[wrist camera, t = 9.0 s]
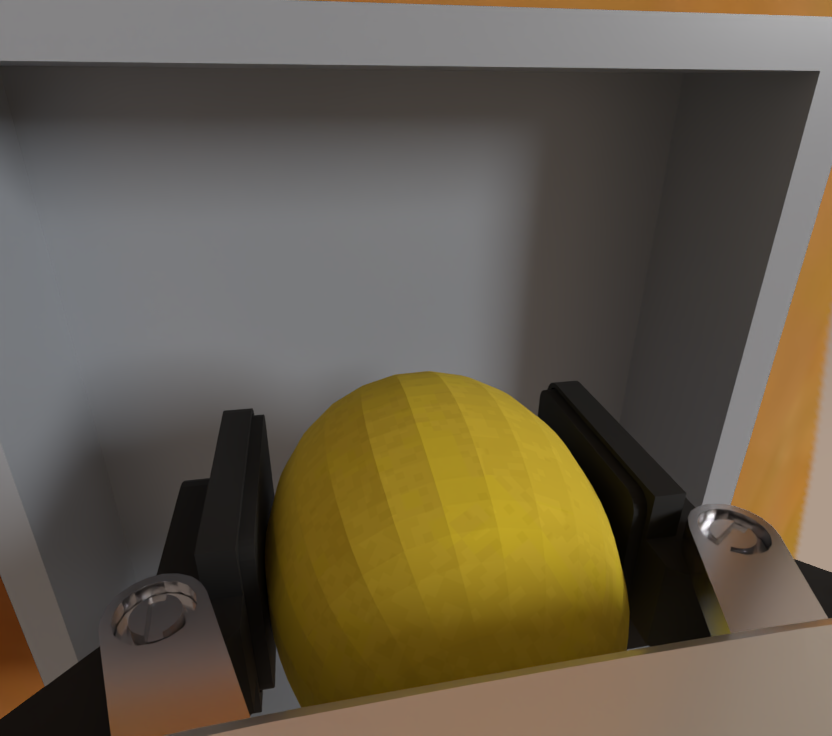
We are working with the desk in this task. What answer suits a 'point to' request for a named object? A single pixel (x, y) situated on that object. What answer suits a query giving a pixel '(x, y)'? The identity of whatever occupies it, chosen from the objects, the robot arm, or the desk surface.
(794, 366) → the desk surface
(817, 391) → the desk surface
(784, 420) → the desk surface
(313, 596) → the lemon
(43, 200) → the tote
